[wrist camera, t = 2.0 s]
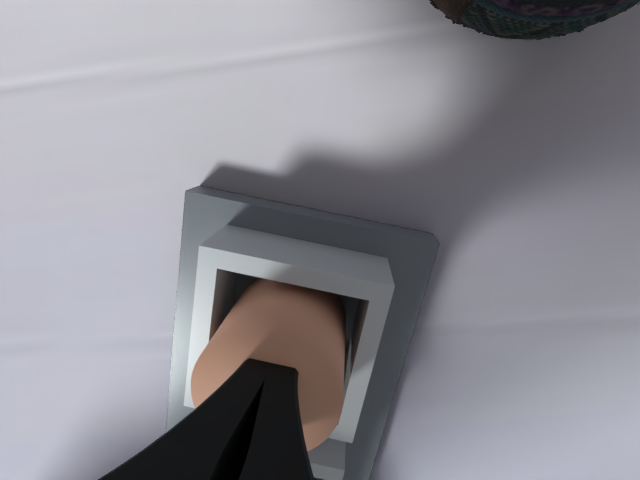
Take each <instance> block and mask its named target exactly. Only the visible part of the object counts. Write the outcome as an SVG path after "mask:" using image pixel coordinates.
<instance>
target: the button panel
mask: <svg viewBox="0 0 640 480" xmlns="http://www.w3.org/2000/svg"><path fill="white" fill-rule="evenodd" d="M439 244H440V243H439V242H438V240H437V239H436V238H435V236H434V235H433V234H431V233H427V232H422V231H417V230H412V229H407V228H402V227H397V226H392V225H388V224H383V223H378V222H373V221H368V220H363V219H358V218H353V217H349V216H344V215H339V214H334V213H329V212H324V211H319V210H314V209H309V208H305V207H300V206H295V205H290V204H285V203H280V202H275V201H270V200H266V199H261V198H256V197H251V196H246V195H241V194H236V193H231V192H227V191H222V190H217V189H212V188H207V187H202V186H197V187H194V188H192V189H189V190H186V191H185V201H184V213H183V226H182V238H181V250H180V263H179V275H178V287H177V300H176V312H175V324H174V337H173V349H172V361H171V374H170V386H169V398H168V411H167V423H166V432H168V431H169V430H170V429H171V428H173V427H174V426H175V425H176V424H177V423H179V422H180V421H181V420H182V419H184V418H185V417H186V416H187V415H189V414H190V413H191V412H192V411H193V410H195V406H194V404H193V400H192V395H191V377H192V372H193V369H194V366H195V363H196V362H197V360H198V358H199V356H200V355H201V353H202V352H203V350H204V349H205V347H206V346H207V344H208V343H209V341H210V340H211V339H212V337H213V336H214V334H215V333H216V331H217V330H218V328H219V327H220V325H221V324H222V322H223V321H224V319H225V318H226V316H227V315H228V313H229V312H230V311H231V309H232V308H233V306H234V305H235V303H236V302H237V300H238V299H239V297H240V296H241V294H242V293H243V291H244V290H245V289H246V287H247V286H248V285H249V284H250V283H251V282H252V281H254V280H255V279H256V278H258V277H259V278H264V279H269V280H274V281H278V282H283V283H288V284H293V285H297V286H302V287H307V288H312V289H316V290H321V291H326V292H331V293H335V294H337V295H338V297H339V298H340V300H341V302H342V305H343V307H344V311H345V315H346V338H345V363H344V388H343V407H342V413H341V416H340V419H339V422H338V424H337V426H336V428H335V429H334V431H333V432H332V433H331V435H330V436H329V437H328V438H327V439H326V440H325V441H324V442H322V443H321V444H320V445H318V446H317V447H315V448H314V449H312V450H310V451H308V452H307V453H308V457H309V461H310V465H311V469H312V472H313V476H314V480H369V477H370V474H371V470H372V467H373V464H374V460H375V457H376V454H377V450H378V447H379V444H380V440H381V437H382V434H383V430H384V427H385V424H386V420H387V417H388V414H389V410H390V407H391V404H392V400H393V397H394V394H395V390H396V387H397V384H398V380H399V377H400V374H401V370H402V367H403V364H404V360H405V357H406V354H407V350H408V347H409V344H410V340H411V337H412V334H413V330H414V327H415V324H416V320H417V317H418V314H419V310H420V307H421V304H422V300H423V297H424V294H425V290H426V287H427V284H428V280H429V277H430V274H431V270H432V267H433V264H434V260H435V257H436V254H437V250H438V247H439Z"/></svg>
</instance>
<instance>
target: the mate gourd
mask: <svg viewBox="0 0 640 480" xmlns="http://www.w3.org/2000/svg"><path fill="white" fill-rule="evenodd" d="M430 1H431V4H432V5H433V6H434V7H435V8H437V9H440V10H441V11H442V12H443V13H444V14H445V15H446V16H445V17H446V18H448V19H451V20H452V22H453V24H455V23H457V24H462V25H463V27H468V28H472V29H475V30H476V31H477V32H479V33H480V32H482V33H483V34H486V35H490V36H495V37H500V38H506V39H530V40H531V39H537V40H539V39H543V38H550V37H552V36H554V37H555V36H565V35H566V34H568V33H572V32H581V30H583V29H584V28H586V27H588V26H590V25H593V24H596V23H598V22H602V21H604V20H606V19H608V18H610V17H613V16H616V15H617V14H619V13H621V12H624V11H626V10H627V9H629V8H630V7H632V6H634V5H635V4H637V3H638V2H639V1H640V0H430ZM639 4H640V3H639ZM637 5H638V4H637Z"/></svg>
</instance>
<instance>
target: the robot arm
mask: <svg viewBox="0 0 640 480" xmlns="http://www.w3.org/2000/svg"><path fill="white" fill-rule="evenodd" d="M298 374H299V372H298V371H297V370H296V368H293V367H288V366H284V365H279V364H274V363H270V362H265V361H261V360H256V359H252V358H248V359H247V360H245V361H244V362H243V363H242V364H241V365H240V366H239V368H238V369H237V370H236V371H235V372H234V373H233V374H232V375H231V376H230V377H229V378H228V379H227V380H226V381H225V382H224V383H223V384H222V385H221V386H220V387H219V388H218V389H217V390H216V391H215V392H213V393H212V394H211V395H210V396H209V397H208V398H207V399H206V400H205V401H203V402H202V403H201V404H200V405H199V406H198V407H197V408H196V409H195V410H193V411H192V412H191V413H190V414H189V415H187V416H186V417H185V418H184V419H182V420H181V421H180V422H179V423H177V424H176V425H175V426H174V427H173V428H171V429H170V430H169V431H168V432H166V433H165V434H164V435H162V436H161V437H160V438H158V439H157V440H156V441H154V442H153V443H152V444H150V445H149V446H148V447H146V448H145V449H144V450H142V451H141V452H139V453H138V454H136V455H135V456H133V457H132V458H131V459H129V460H128V461H126V462H125V463H123V464H122V465H120V466H119V467H117V468H116V469H114V470H113V471H111V472H109V473H108V474H106V475H105V476H103V477H101V478H100V479H98V480H314V476H313V472H312V469H311V465H310V461H309V457H308V453H307V448H306V443H305V439H304V433H303V428H302V422H301V416H300V409H299V399H298Z"/></svg>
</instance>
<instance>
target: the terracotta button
mask: <svg viewBox="0 0 640 480" xmlns="http://www.w3.org/2000/svg"><path fill="white" fill-rule="evenodd" d="M345 338H346V315H345V311H344V307H343V305H342V302H341V300H340V298H339V297H338V295H337V294H335V293H331V292H326V291H321V290H316V289H312V288H307V287H302V286H297V285H293V284H288V283H283V282H278V281H274V280H269V279H264V278H259V277H258V278H256V279H255V280H254V281H252V282H251V283H250V284H249V285H248V286H247V287H246V289H245V290H244V291H243V293H242V294H241V296H240V297H239V299H238V300H237V302H236V303H235V305H234V306H233V308H232V309H231V311H230V312H229V313H228V315H227V316H226V318H225V319H224V321H223V322H222V324H221V325H220V327H219V328H218V330H217V331H216V333H215V334H214V336H213V337H212V339H211V340H210V341H209V343H208V344H207V346H206V347H205V349H204V350H203V352H202V353H201V355H200V356H199V358H198V360H197V362H196V363H195V366H194V369H193V372H192V377H191V395H192V400H193V404H194V406H195V409H196V408H197V407H198V406H199V405H200V404H201V403H202V402H203V401H205V400H206V399H207V398H208V397H209V396H210V395H211V394H212V393H213V392H215V391H216V390H217V389H218V388H219V387H220V386H221V385H222V384H223V383H224V382H225V381H226V380H227V379H228V378H229V377H230V376H231V375H232V374H233V373H234V372H235V371H236V370H237V369H238V368H239V366H240V365H241V364H242V363H243V362H244V361H245V360H247V359H248V358H252V359H256V360H261V361H265V362H270V363H274V364H279V365H284V366H288V367H293V368H296V370H297V371H298V372H299V374H298V399H299V409H300V416H301V422H302V428H303V433H304V439H305V443H306V448H307V452H308V451H310V450H312V449H314V448H315V447H317V446H318V445H320V444H321V443H322V442H324V441H325V440H326V439H327V438H328V437H329V436H330V435H331V433H332V432H333V431H334V429H335V428H336V426H337V424H338V422H339V419H340V416H341V413H342V407H343V388H344V363H345Z"/></svg>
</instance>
